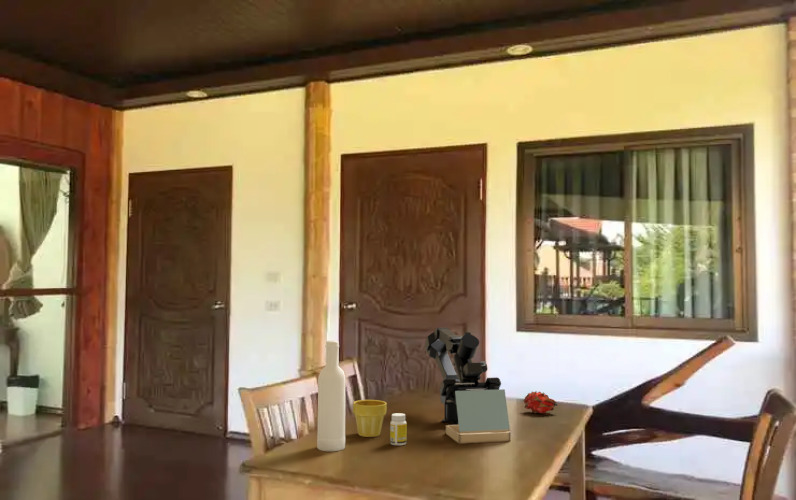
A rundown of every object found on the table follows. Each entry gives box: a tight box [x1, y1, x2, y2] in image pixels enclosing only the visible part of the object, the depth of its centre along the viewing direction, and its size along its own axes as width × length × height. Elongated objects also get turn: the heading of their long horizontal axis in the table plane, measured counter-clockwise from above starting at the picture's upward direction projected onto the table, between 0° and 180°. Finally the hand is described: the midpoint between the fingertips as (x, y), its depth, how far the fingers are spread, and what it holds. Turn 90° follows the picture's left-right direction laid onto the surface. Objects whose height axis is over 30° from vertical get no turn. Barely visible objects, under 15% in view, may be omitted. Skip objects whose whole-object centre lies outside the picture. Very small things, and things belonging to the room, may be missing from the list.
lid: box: [455, 388, 511, 434], centre depth 195 cm, size 12×16×1 cm
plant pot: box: [352, 399, 388, 438], centre depth 202 cm, size 10×10×10 cm
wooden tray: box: [445, 424, 511, 445], centre depth 199 cm, size 13×16×2 cm
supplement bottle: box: [389, 412, 408, 446], centre depth 190 cm, size 5×5×8 cm
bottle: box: [316, 340, 347, 452], centre depth 185 cm, size 8×8×30 cm
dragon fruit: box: [522, 390, 558, 416], centre depth 236 cm, size 8×8×12 cm
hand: (476, 409), depth 200 cm, fingers open, 9 cm apart
